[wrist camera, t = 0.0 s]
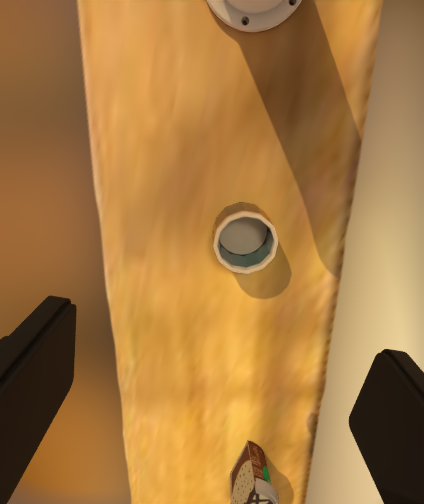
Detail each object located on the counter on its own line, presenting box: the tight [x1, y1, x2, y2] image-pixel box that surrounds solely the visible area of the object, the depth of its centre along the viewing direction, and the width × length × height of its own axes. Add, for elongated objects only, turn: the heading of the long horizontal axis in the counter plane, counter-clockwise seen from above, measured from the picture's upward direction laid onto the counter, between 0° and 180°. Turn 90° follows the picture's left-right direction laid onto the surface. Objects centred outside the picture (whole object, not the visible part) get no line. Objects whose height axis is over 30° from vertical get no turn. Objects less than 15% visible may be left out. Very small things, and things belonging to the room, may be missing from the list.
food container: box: [230, 441, 279, 504], centre depth 59 cm, size 12×6×10 cm, turn 161°
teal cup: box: [213, 202, 279, 274], centre depth 44 cm, size 8×8×6 cm
